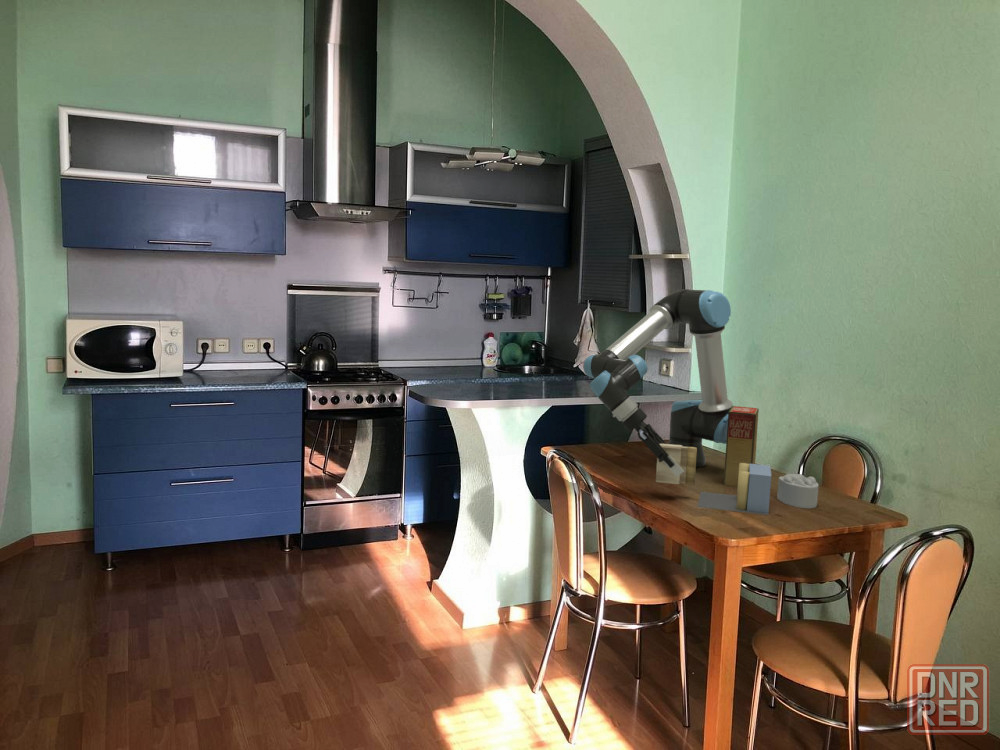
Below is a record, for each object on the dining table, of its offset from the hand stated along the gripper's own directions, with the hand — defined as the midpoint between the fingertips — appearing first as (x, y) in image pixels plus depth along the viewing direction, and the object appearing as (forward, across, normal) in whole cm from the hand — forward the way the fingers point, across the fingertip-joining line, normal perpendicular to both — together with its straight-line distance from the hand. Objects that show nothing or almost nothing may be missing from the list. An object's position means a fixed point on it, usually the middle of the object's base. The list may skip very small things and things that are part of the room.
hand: (681, 471), depth 255 cm
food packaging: (+19, -28, +6) cm, 34 cm away
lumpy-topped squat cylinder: (+31, -9, +18) cm, 37 cm away
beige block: (+1, 0, -3) cm, 4 cm away
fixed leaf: (+21, 0, +9) cm, 23 cm away
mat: (+17, 0, +5) cm, 18 cm away
